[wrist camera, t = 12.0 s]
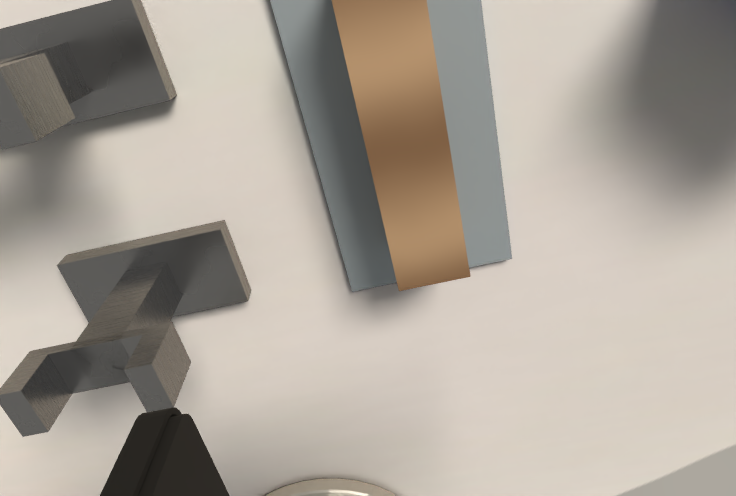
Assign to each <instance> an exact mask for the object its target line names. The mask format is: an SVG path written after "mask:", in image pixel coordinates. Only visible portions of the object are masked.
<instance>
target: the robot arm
mask: <svg viewBox="0 0 736 496" xmlns="http://www.w3.org/2000/svg"><path fill="white" fill-rule="evenodd" d="M100 496H229V494H228V492H227V490H226V487H225V485H224V483H223V481H222V479H221V477H220V475H219V473H218V471H217V469H216V467H215V465H214V463H213V460H212V458H211V456H210V454H209V452H208V450H207V448H206V446H205V444H204V442H203V440H202V438H201V436H200V433H199V431H198V429H197V427H196V425H195V423H194V421H193V419H192V417H191V416H190V415H189V414H181V412H180V411H179V410H178V409H177V408H173V407H172V408H167V409H162V410H157V411H152V412H147V413H142V414H141V415H139V416H138V418H137V419H136V421H135V423H134V425H133V427H132V429H131V431H130V433H129V435H128V437H127V440H126V442H125V444H124V446H123V448H122V450H121V452H120V454H119V456H118V459H117V461H116V463H115V465H114V467H113V469H112V471H111V473H110V475H109V478H108V480H107V482H106V484H105V486H104V488H103V490H102V492H101V494H100ZM265 496H396V495H395V494H393V493H392V492H389V491H387V490H385V489H382V488H380V487H378V486H376V485H372V484H368V483H364V482H361V481H356V480H347V479H339V478H338V479H315V480H308V481H301V482H298V483H294V484H291V485H287V486H284V487H282V488H279V489H277V490H275V491H273V492H271V493H269V494H267V495H265Z"/></svg>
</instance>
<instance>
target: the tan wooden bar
mask: <svg viewBox="0 0 736 496" xmlns="http://www.w3.org/2000/svg"><path fill="white" fill-rule="evenodd" d="M332 4H333V8H334V13H335V17H336V21H337V26H338V30H339V34H340V39H341V43H342V47H343V52H344V56H345V60H346V65H347V69H348V73H349V77H350V82H351V86H352V90H353V95H354V99H355V103H356V108H357V112H358V116H359V121H360V125H361V129H362V134H363V138H364V142H365V147H366V151H367V155H368V159H369V164H370V168H371V172H372V177H373V181H374V185H375V190H376V194H377V198H378V203H379V207H380V211H381V216H382V220H383V224H384V229H385V233H386V237H387V241H388V246H389V250H390V254H391V259H392V263H393V267H394V272H395V276H396V280H397V285H398V289H399V291H402V290H407V289H412V288H417V287H421V286H426V285H431V284H436V283H441V282H446V281H451V280H456V279H461V278H466V277H470V270H469V264H468V258H467V252H466V245H465V239H464V233H463V226H462V220H461V214H460V207H459V201H458V195H457V189H456V182H455V176H454V170H453V163H452V157H451V151H450V145H449V138H448V132H447V126H446V119H445V113H444V107H443V101H442V94H441V88H440V82H439V75H438V69H437V63H436V56H435V50H434V44H433V38H432V31H431V25H430V19H429V12H428V6H427V0H332Z"/></svg>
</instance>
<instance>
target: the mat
mask: <svg viewBox="0 0 736 496" xmlns="http://www.w3.org/2000/svg"><path fill="white" fill-rule="evenodd" d="M270 2H271V5H272V9H273V12H274V16H275V20H276V23H277V27H278V30H279V34H280V37H281V41H282V44H283V48H284V51H285V55H286V59H287V62H288V66H289V69H290V73H291V76H292V80H293V83H294V87H295V90H296V94H297V98H298V101H299V105H300V108H301V112H302V115H303V119H304V122H305V126H306V129H307V133H308V137H309V140H310V144H311V147H312V151H313V154H314V158H315V161H316V165H317V168H318V172H319V176H320V179H321V183H322V186H323V190H324V193H325V197H326V200H327V204H328V208H329V211H330V215H331V218H332V222H333V225H334V229H335V232H336V236H337V239H338V243H339V247H340V250H341V254H342V257H343V261H344V264H345V268H346V271H347V275H348V278H349V282H350V286H351V289H352V292H354V291H359V290H364V289H369V288H373V287H378V286H383V285H388V284H393V283H397V280H396V276H395V272H394V267H393V263H392V259H391V254H390V250H389V246H388V241H387V237H386V233H385V229H384V224H383V220H382V216H381V211H380V207H379V203H378V198H377V194H376V190H375V185H374V181H373V177H372V172H371V168H370V164H369V159H368V155H367V151H366V147H365V142H364V138H363V134H362V129H361V125H360V121H359V116H358V112H357V108H356V103H355V99H354V95H353V90H352V86H351V82H350V77H349V73H348V69H347V65H346V60H345V56H344V52H343V47H342V43H341V39H340V34H339V30H338V26H337V21H336V17H335V13H334V8H333V4H332V0H270ZM427 6H428V12H429V19H430V25H431V31H432V38H433V44H434V50H435V56H436V63H437V69H438V75H439V82H440V88H441V94H442V101H443V107H444V113H445V119H446V126H447V132H448V138H449V145H450V151H451V157H452V163H453V170H454V176H455V182H456V189H457V195H458V201H459V207H460V214H461V220H462V226H463V233H464V239H465V245H466V252H467V258H468V264H469V268H470V267H475V266H480V265H484V264H489V263H494V262H499V261H504V260H509V259H512V254H511V246H510V237H509V229H508V221H507V212H506V204H505V196H504V187H503V179H502V171H501V162H500V154H499V146H498V137H497V129H496V121H495V113H494V104H493V96H492V88H491V79H490V71H489V63H488V54H487V46H486V38H485V29H484V21H483V13H482V4H481V0H427Z"/></svg>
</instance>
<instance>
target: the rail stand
mask: <svg viewBox="0 0 736 496" xmlns="http://www.w3.org/2000/svg"><path fill="white" fill-rule="evenodd" d="M176 95H177V94H176V91H175V89H174V86H173V84H172V81H171V78H170V76H169V73H168V70H167V68H166V65H165V63H164V60H163V57H162V55H161V52H160V49H159V47H158V44H157V42H156V39H155V36H154V34H153V31H152V28H151V26H150V23H149V21H148V18H147V15H146V13H145V10H144V7H143V5H142V2H141V0H111V1H107V2H103V3H99V4H95V5H92V6H88V7H84V8H80V9H76V10H72V11H68V12H64V13H60V14H57V15H53V16H49V17H45V18H41V19H37V20H33V21H29V22H25V23H22V24H18V25H14V26H10V27H6V28H2V29H0V146H1V147H2V149H7V148H11V147H15V146H19V145H23V144H27V143H32V142H36V141H38V140H39V139H41V138H43V137H44V136H46V135H48V134H49V133H51V132H53V131H54V130H56V129H58V128H59V127H62V126H66V125H70V124H74V123H78V122H82V121H87V120H91V119H95V118H99V117H103V116H107V115H112V114H116V113H120V112H124V111H128V110H132V109H137V108H141V107H145V106H149V105H153V104H157V103H161V102H166V101H170V100H171V99H172V98H174V97H175V96H176ZM57 266H58V268H59V270H60V272H61V274H62V275H63V277H64V279H65V281H66V283H67V284H68V286H69V288H70V290H71V292H72V293H73V295H74V297H75V299H76V300H77V302H78V304H79V306H80V308H81V309H82V311H83V313H84V315H85V317H86V318H87V320H88V322H89V324H88V325H87V327H86V328H85V329H84V331H83V332H82V334H81V335H80V337H79V338H78V339H77V341H76V342H72V343H67V344H62V345H57V346H52V347H48V348H43V349H38V350H33V351H30V352H29V353H28V354H27V356H26V357H25V358H24V359H23V361H22V362H21V363H20V364H19V366H18V367H17V368H16V369H15V371H14V372H13V373H12V374H11V376H10V377H9V378H8V379H7V381H6V382H5V383H4V384H3V386H2V387H1V388H0V405H1V407H2V408H3V409H4V411H5V412H6V414H7V415H8V416H9V418H10V419H11V421H12V422H13V424H14V425H15V426H16V428H17V429H18V431H19V432H20V433H21V435H22V436H23V437H24V436H29V435H34V434H39V433H44V432H49V430H50V428H51V427H52V425H53V424H54V422H55V420H56V419H57V417H58V416H59V414H60V412H61V411H62V409H63V408H64V406H65V404H66V403H67V401H68V400H69V398H70V397H71V395H72V394H73V393H78V392H83V391H88V390H93V389H98V388H103V387H108V386H113V385H117V384H122V383H127V382H131V384H132V386H133V387H134V389H135V391H136V393H137V395H138V397H139V398H140V400H141V402H142V404H143V406H144V407H145V409H146V411H147V412H152V411H157V410H162V409H167V408H172V407H174V405H175V402H176V400H177V397H178V395H179V392H180V390H181V387H182V384H183V382H184V379H185V377H186V374H187V372H188V369H189V366H190V364H191V361H190V359H189V356H188V354H187V352H186V350H185V348H184V346H183V344H182V342H181V340H180V337H179V335H178V333H177V331H176V329H175V327H174V325H173V323H172V322H170V321H171V319H172V317H174V316H179V315H184V314H189V313H193V312H198V311H203V310H208V309H212V308H217V307H222V306H227V305H232V304H236V303H241V302H246V301H248V300H249V296H250V293H251V288H250V286H249V283H248V280H247V278H246V275H245V272H244V270H243V267H242V265H241V262H240V259H239V257H238V254H237V251H236V249H235V246H234V244H233V241H232V238H231V236H230V233H229V230H228V228H227V225H226V223H225V220H223V221H219V222H214V223H210V224H205V225H201V226H196V227H191V228H187V229H182V230H178V231H173V232H169V233H164V234H160V235H155V236H151V237H146V238H142V239H137V240H133V241H128V242H124V243H119V244H115V245H110V246H106V247H101V248H97V249H92V250H88V251H83V252H79V253H74V254H69V255H66V256H65V257H64V258H63V259H62V260H61V261H60V263H59V264H58V265H57Z"/></svg>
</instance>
